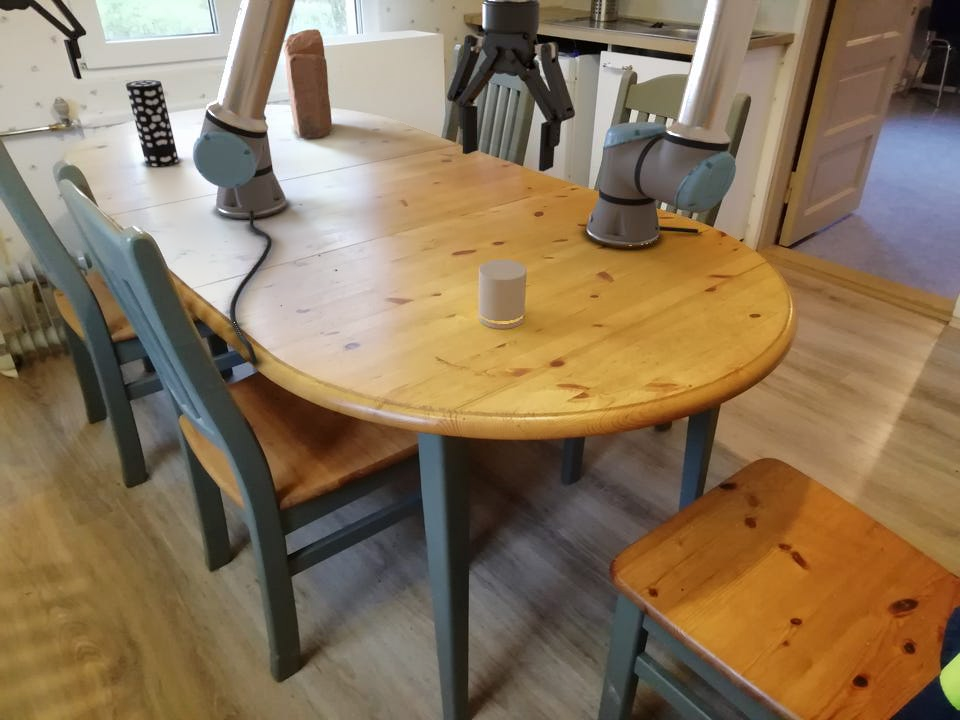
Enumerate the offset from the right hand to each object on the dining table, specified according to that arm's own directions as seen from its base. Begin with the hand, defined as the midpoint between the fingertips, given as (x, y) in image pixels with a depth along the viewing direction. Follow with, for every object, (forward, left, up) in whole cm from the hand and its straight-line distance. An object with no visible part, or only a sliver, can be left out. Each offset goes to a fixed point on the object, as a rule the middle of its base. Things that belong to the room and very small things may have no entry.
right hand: (506, 160), depth 102 cm
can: (0, 0, -27) cm, 27 cm away
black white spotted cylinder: (+50, -112, -16) cm, 124 cm away
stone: (+6, -132, -27) cm, 134 cm away
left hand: (+66, -64, +4) cm, 92 cm away
